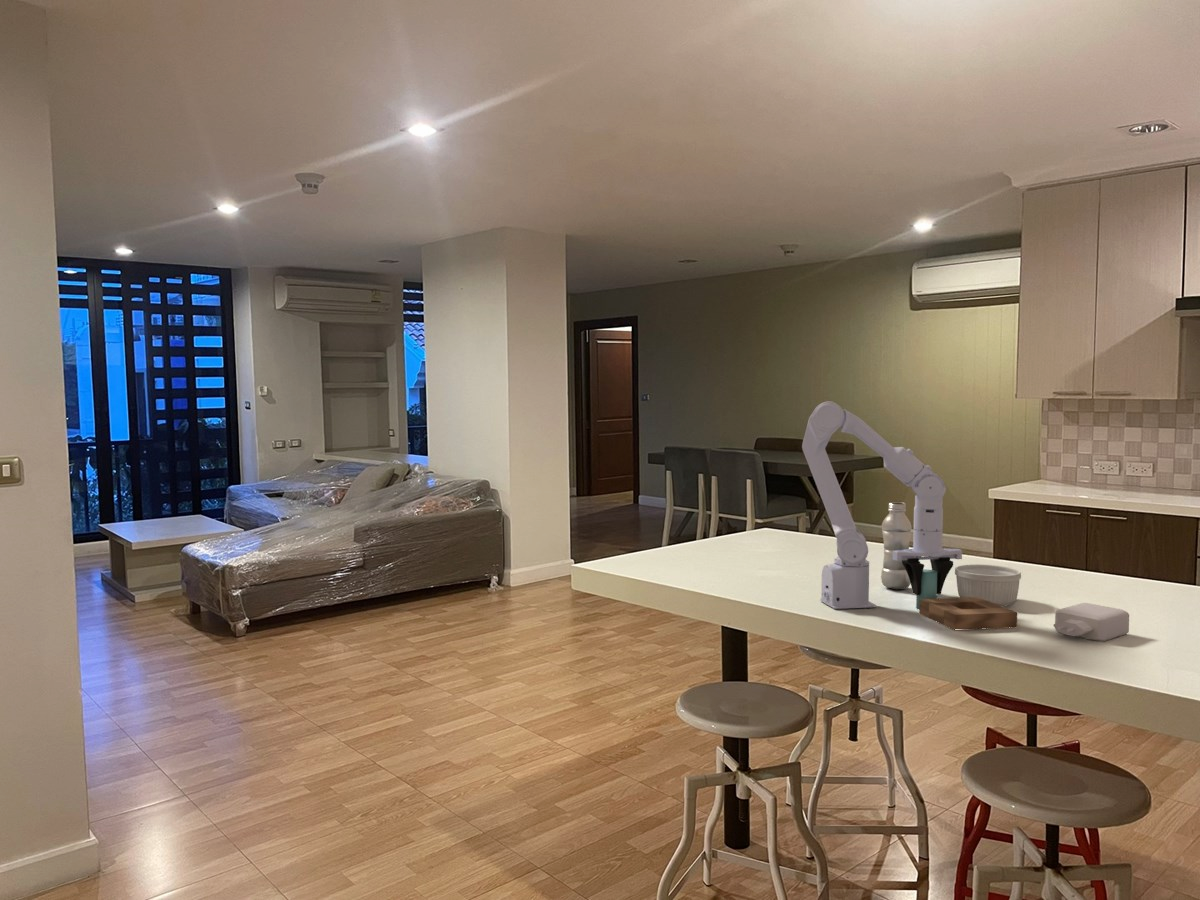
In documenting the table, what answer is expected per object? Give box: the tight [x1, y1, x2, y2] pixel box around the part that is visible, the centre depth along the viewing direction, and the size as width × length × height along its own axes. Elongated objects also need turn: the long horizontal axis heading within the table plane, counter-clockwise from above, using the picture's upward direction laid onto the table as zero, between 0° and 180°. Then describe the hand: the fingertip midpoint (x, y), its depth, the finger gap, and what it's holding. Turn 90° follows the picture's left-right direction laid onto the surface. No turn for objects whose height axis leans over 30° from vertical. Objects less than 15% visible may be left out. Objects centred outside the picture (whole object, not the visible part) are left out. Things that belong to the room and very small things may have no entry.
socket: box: [918, 597, 1018, 631], centre depth 170 cm, size 13×13×3 cm
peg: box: [915, 568, 938, 610], centre depth 179 cm, size 4×4×8 cm
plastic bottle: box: [880, 501, 912, 590], centre depth 198 cm, size 6×7×20 cm
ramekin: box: [954, 563, 1022, 607], centre depth 187 cm, size 13×13×7 cm
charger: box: [1053, 602, 1130, 642], centre depth 159 cm, size 5×9×15 cm
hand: (926, 593), depth 179 cm, fingers closed on peg, 4 cm apart
